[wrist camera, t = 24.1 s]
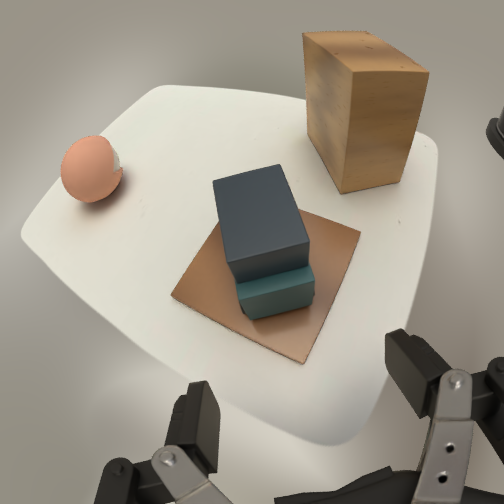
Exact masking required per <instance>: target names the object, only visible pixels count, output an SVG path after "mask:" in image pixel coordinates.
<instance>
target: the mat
mask: <svg viewBox="0 0 504 504" xmlns="http://www.w3.org/2000/svg"><path fill="white" fill-rule="evenodd" d="M298 210H299V213H300V215H301V218H302V220H303V223H304V226H305V228H306V231H307V234H308V237H309V239H310V252H309V262H310V265H311V268H312V271H313V274H314V277H315V286H314V289H315V296H313V300H312V304H311V305H308V306H305V307H301V308H297V309H293V310H290V311H286V312H282V313H278V314H274V315H270V316H266V317H262V318H258V319H254V320H250V319H249V318H248V316H247V314H243V313H242V311H241V308H240V304H239V300H238V296H237V291H236V286H235V281H234V277H233V275H232V273H231V271H230V269H229V267H228V265H227V263H226V258H225V252H224V247H223V241H222V236H221V230H220V224H219V222H218V223H217V225H216V226H215V228H214V229H213V231H212V232H211V234H210V235H209V237H208V238H207V240H206V241H205V243H204V244H203V246H202V247H201V249H200V250H199V252H198V253H197V255H196V256H195V258H194V259H193V261H192V262H191V264H190V265H189V267H188V268H187V270H186V271H185V273H184V274H183V276H182V278H181V279H180V281H179V282H178V284H177V285H176V287H175V288H174V290H173V292H172V293H171V296H172V297H173V298H175V299H176V300H178V301H180V302H182V303H183V304H185V305H187V306H189V307H190V308H192V309H194V310H196V311H197V312H199V313H201V314H203V315H205V316H207V317H208V318H210V319H212V320H214V321H216V322H218V323H219V324H221V325H223V326H225V327H227V328H229V329H231V330H233V331H235V332H237V333H239V334H241V335H242V336H244V337H246V338H248V339H250V340H252V341H254V342H256V343H258V344H260V345H262V346H264V347H267V348H269V349H271V350H273V351H275V352H277V353H279V354H281V355H283V356H285V357H288V358H290V359H292V360H294V361H296V362H298V363H301V364H304V362H305V360H306V358H307V356H308V354H309V352H310V350H311V348H312V346H313V344H314V342H315V340H316V338H317V336H318V334H319V332H320V330H321V328H322V325H323V323H324V321H325V319H326V317H327V314H328V312H329V310H330V308H331V305H332V303H333V301H334V299H335V296H336V294H337V292H338V289H339V287H340V285H341V282H342V280H343V277H344V275H345V272H346V270H347V268H348V265H349V263H350V260H351V257H352V255H353V252H354V250H355V247H356V244H357V242H358V239H359V236H360V233H361V232H360V231H357V230H355V229H352V228H350V227H347V226H344V225H342V224H339V223H336V222H333V221H331V220H328V219H325V218H322V217H320V216H317V215H314V214H311V213H308V212H306V211H303V210H300V209H298Z"/></svg>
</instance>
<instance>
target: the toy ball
mask: <svg viewBox="0 0 504 504" xmlns="http://www.w3.org/2000/svg"><path fill="white" fill-rule="evenodd" d="M122 172H123V168H121V167H120V161H119V157H118V154H117V152H116V151H115V149H114V148H113V147H112V146H111V145H110V143H109V141H108V140H107V139H106V138H104V137H102V136H88V137H85V138H82V139H80V140H78V141H77V142H75V143H74V144H73V145H72V146H71V147H70V148H69V149H68V151H67V152H66V154H65V156H64V158H63V161H62V164H61V179H62V182H63V185H64V187H65V189H66V190H67V192H68V193H69V194H70V195H71V196H72V197H74V198H75V199H77V200H80V201H83V202H95V201H98V200H101V199H103V198H105V197H107V196H108V195H109V194H111V193H112V192H113V191H114V189H115V188H116V187H117V185H118V183H119V181H120V179H121V176H122Z"/></svg>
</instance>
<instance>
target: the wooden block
mask: <svg viewBox="0 0 504 504" xmlns="http://www.w3.org/2000/svg"><path fill="white" fill-rule="evenodd" d="M302 37H303V50H304V65H305V83H306V107H307V134H308V136H309V138H310V139H311V141H312V143H313V144H314V146H315V148H316V150H317V151H318V153H319V155H320V157H321V158H322V160H323V162H324V164H325V166H326V168H327V169H328V171H329V173H330V175H331V177H332V179H333V181H334V182H335V184H336V186H337V188H338V190H339V192H340V194H344V193H349V192H353V191H358V190H362V189H367V188H372V187H377V186H382V185H386V184H391V183H396V182H400V179H401V176H402V173H403V170H404V167H405V164H406V161H407V158H408V155H409V151H410V148H411V145H412V142H413V138H414V135H415V131H416V127H417V123H418V120H419V116H420V112H421V108H422V104H423V100H424V96H425V92H426V87H427V82H428V78H429V71H427V70H426V69H425V68H423V67H422V66H421V65H419V64H418V63H416V62H415V61H414V60H412V59H411V58H409V57H408V56H406V55H405V54H403V53H402V52H400V51H399V50H397V49H396V48H394V47H392V46H391V45H389V44H388V43H386V42H384V41H383V40H381V39H379V38H378V37H376V36H374V35H372V34H371V33H369V32H367V31H325V32H324V31H322V32H307V33H302Z"/></svg>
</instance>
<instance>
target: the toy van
mask: <svg viewBox="0 0 504 504" xmlns="http://www.w3.org/2000/svg"><path fill="white" fill-rule="evenodd" d="M213 189H214V195H215V201H216V207H217V212H218V218H219V224H220V230H221V236H222V241H223V247H224V252H225V258H226V263H227V265H228V267H229V269H230V271H231V273H232V275H233V277H234V281H235V286H236V291H237V296H238V300H239V304H240V308H241V311H242V313H243V314H247V316H248V318H249V319H250V320H254V319H258V318H262V317H266V316H270V315H274V314H278V313H282V312H286V311H290V310H293V309H297V308H301V307H305V306H308V305H311V304H312V300H313V296H315V289H314V286H315V277H314V274H313V271H312V268H311V265H310V262H309V252H310V239H309V237H308V234H307V231H306V228H305V226H304V223H303V220H302V218H301V215H300V213H299V210H298V207H297V205H296V202H295V200H294V197H293V195H292V192H291V190H290V187H289V185H288V182H287V180H286V177H285V175H284V172H283V170H282V167H281V165H280V164H277V165H273V166H269V167H264V168H260V169H256V170H252V171H248V172H244V173H240V174H236V175H232V176H229V177H225V178H221V179H217V180H214V181H213Z"/></svg>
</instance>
